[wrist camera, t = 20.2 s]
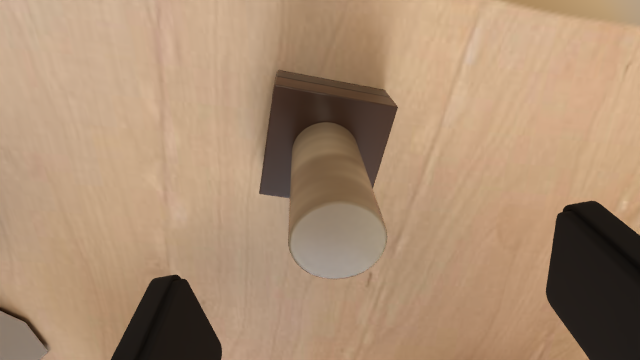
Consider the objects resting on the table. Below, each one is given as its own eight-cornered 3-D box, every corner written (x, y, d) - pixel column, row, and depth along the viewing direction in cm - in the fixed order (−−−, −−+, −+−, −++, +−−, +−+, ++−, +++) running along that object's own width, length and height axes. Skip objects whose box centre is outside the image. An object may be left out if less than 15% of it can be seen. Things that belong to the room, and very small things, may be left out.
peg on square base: (385, 89, 17) (453, 180, 9) (358, 182, 19) (396, 313, 12) (277, 69, 16) (258, 149, 9) (263, 168, 18) (240, 297, 11)
